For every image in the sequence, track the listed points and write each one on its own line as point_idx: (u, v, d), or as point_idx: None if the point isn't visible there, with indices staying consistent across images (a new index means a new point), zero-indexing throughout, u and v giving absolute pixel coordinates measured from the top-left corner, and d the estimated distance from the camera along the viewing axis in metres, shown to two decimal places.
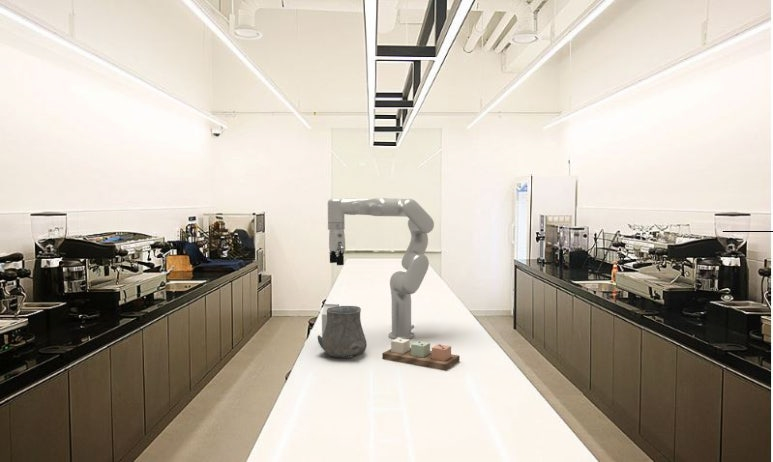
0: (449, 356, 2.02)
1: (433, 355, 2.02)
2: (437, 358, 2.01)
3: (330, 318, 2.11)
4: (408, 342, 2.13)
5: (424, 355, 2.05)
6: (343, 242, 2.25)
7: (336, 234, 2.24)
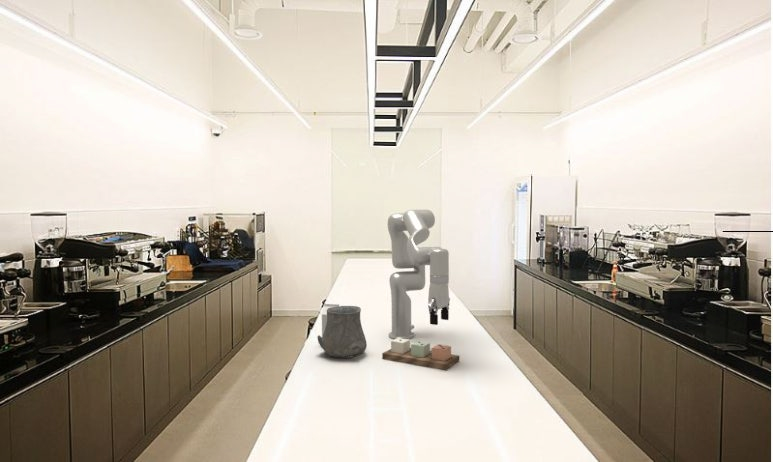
0: (449, 356, 2.02)
1: (433, 355, 2.02)
2: (437, 358, 2.01)
3: (330, 318, 2.11)
4: (408, 342, 2.13)
5: (424, 355, 2.05)
6: None
7: None
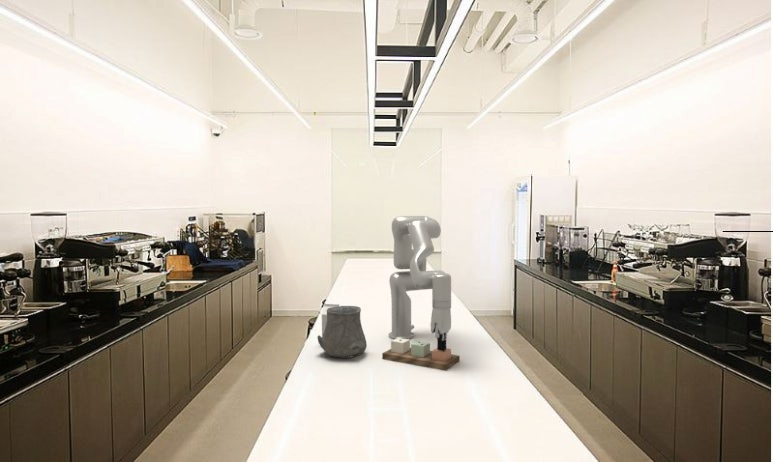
0: None
1: (433, 358, 2.02)
2: None
3: (330, 318, 2.11)
4: (408, 342, 2.13)
5: (424, 355, 2.05)
6: None
7: None
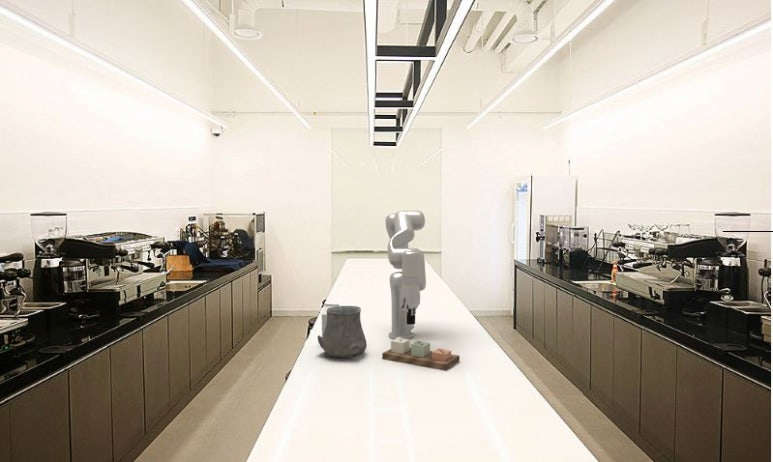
0: None
1: (433, 359, 2.02)
2: None
3: (330, 318, 2.11)
4: (408, 342, 2.13)
5: (424, 355, 2.05)
6: None
7: None
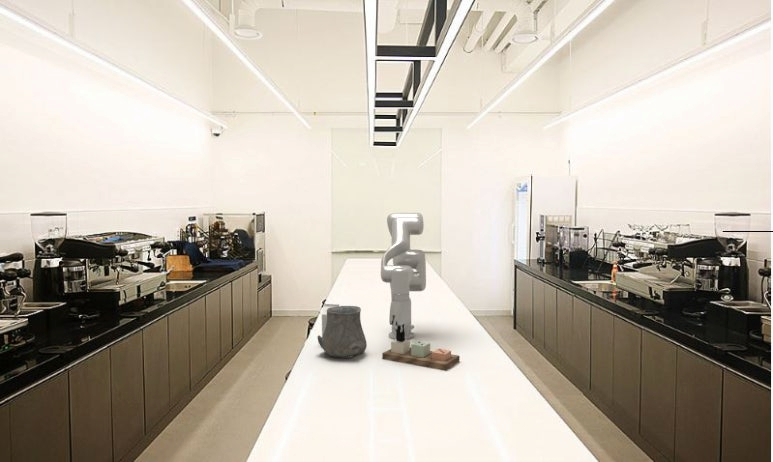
0: None
1: (433, 359, 2.02)
2: None
3: (330, 318, 2.11)
4: (408, 343, 2.13)
5: (424, 355, 2.05)
6: None
7: None
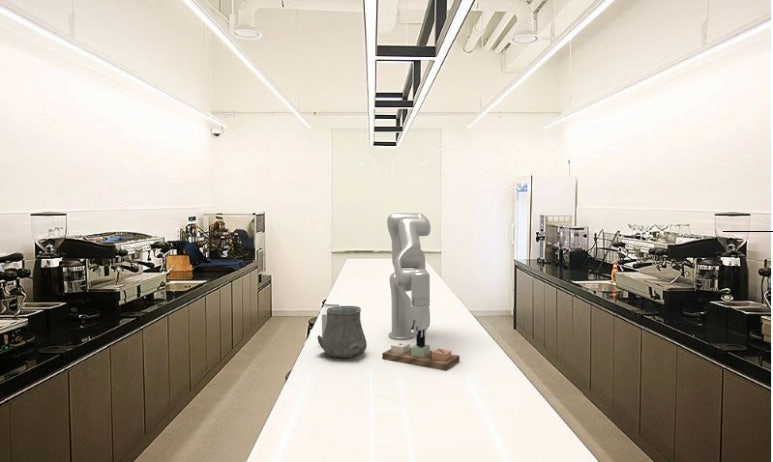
0: None
1: (433, 359, 2.02)
2: None
3: (330, 318, 2.11)
4: (408, 346, 2.13)
5: (424, 357, 2.05)
6: None
7: None
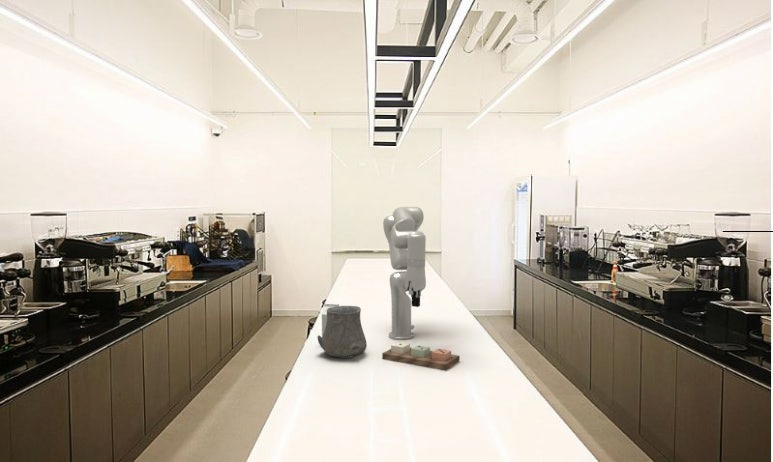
0: None
1: (433, 359, 2.02)
2: None
3: (330, 318, 2.11)
4: (408, 346, 2.13)
5: None
6: None
7: None
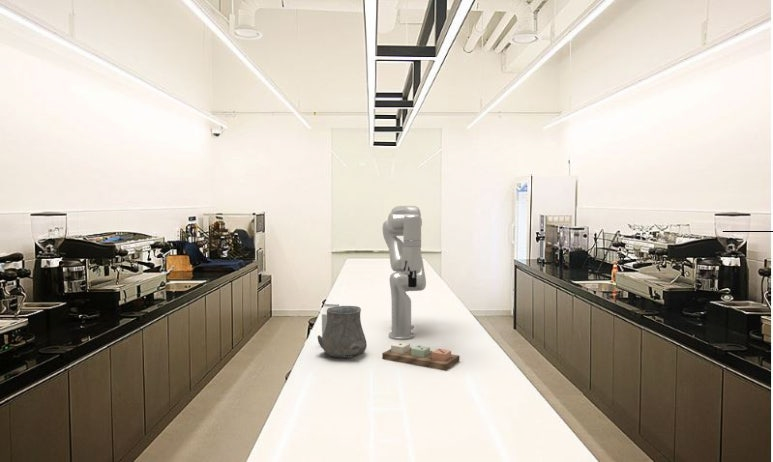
0: None
1: (433, 359, 2.02)
2: None
3: (330, 318, 2.11)
4: (408, 346, 2.13)
5: None
6: None
7: None
